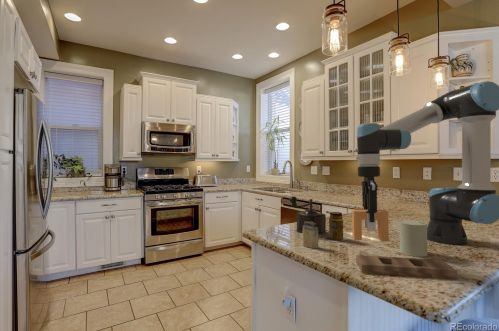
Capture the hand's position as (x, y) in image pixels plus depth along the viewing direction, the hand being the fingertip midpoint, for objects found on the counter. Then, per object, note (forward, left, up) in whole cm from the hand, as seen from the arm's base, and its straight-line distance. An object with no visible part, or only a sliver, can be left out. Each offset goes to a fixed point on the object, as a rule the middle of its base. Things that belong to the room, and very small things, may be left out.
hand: (369, 229), depth 100 cm
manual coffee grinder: (+22, -30, -10) cm, 39 cm away
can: (-17, -6, -10) cm, 20 cm away
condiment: (+10, -20, -10) cm, 24 cm away
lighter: (+21, -7, -10) cm, 24 cm away
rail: (-7, +13, -10) cm, 18 cm away
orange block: (0, 0, -4) cm, 4 cm away
